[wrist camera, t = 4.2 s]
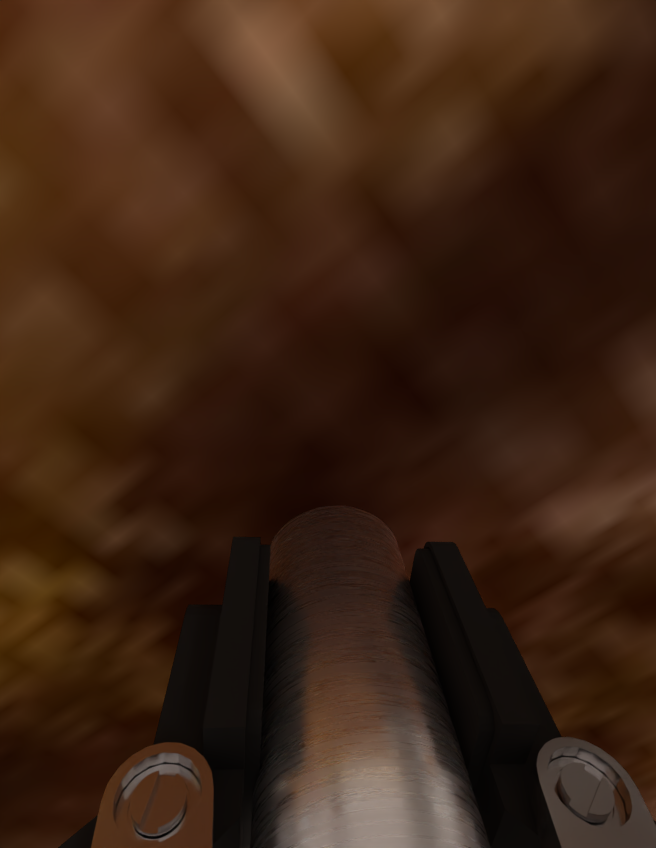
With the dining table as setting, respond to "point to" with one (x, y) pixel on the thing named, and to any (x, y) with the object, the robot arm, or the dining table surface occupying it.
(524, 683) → the robot arm
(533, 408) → the dining table surface
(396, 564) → the steel pin
